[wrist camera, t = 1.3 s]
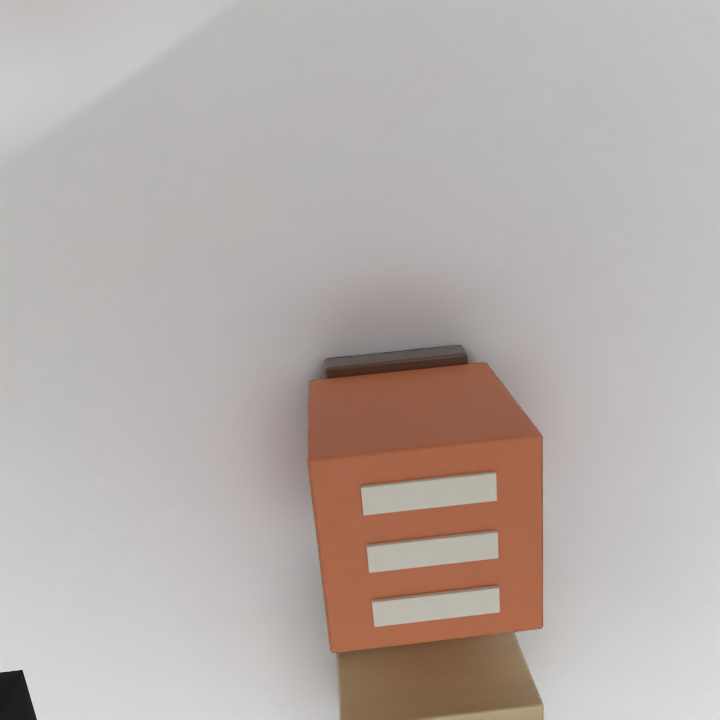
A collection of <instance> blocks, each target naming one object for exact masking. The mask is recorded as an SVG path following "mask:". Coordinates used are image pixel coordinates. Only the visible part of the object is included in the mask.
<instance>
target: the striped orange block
mask: <svg viewBox="0 0 720 720" xmlns="http://www.w3.org/2000/svg"><path fill="white" fill-rule="evenodd" d="M308 470H309V478H310V487H311V495H312V503H313V511H314V519H315V527H316V536H317V544H318V552H319V560H320V568H321V576H322V585H323V593H324V601H325V609H326V617H327V625H328V633H329V642H330V650H331V651H332V653H339V652H348V651H356V650H365V649H373V648H381V647H390V646H398V645H407V644H415V643H424V642H432V641H441V640H449V639H458V638H466V637H474V636H483V635H491V634H500V633H508V632H517V631H525V630H534V629H541V628H542V627H543V445H542V435H541V433H540V432H539V431H538V429H537V428H536V427H535V425H534V424H533V423H532V422H531V420H530V419H529V418H528V416H527V415H526V414H525V412H524V411H523V410H522V409H521V407H520V406H519V405H518V403H517V402H516V401H515V399H514V398H513V397H512V396H511V394H510V393H509V392H508V390H507V389H506V388H505V387H504V385H503V384H502V383H501V381H500V380H499V379H498V377H497V376H496V375H495V374H494V372H493V371H492V370H491V368H490V367H489V366H488V364H487V363H485V362H483V363H473V364H463V365H454V366H444V367H435V368H425V369H415V370H406V371H396V372H386V373H377V374H367V375H357V376H348V377H338V378H329V379H319V380H311V381H309V397H308Z"/></svg>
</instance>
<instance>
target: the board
mask: <svg viewBox="0 0 720 720" xmlns="http://www.w3.org/2000/svg"><path fill="white" fill-rule="evenodd" d="M463 364H468V354H467V352H466V351H465V350H464V348H463V347H462V346H461V345H457V346H447V347H437V348H428V349H418V350H408V351H398V352H389V353H379V354H369V355H360V356H350V357H340V358H330V359H326V360H325V369H326V379H329V378H338V377H348V376H357V375H367V374H377V373H386V372H396V371H406V370H415V369H425V368H435V367H444V366H454V365H463ZM337 671H338V692H339V714H340V720H543V703H542V700H541V698H540V695H539V693H538V690H537V688H536V686H535V683H534V681H533V678H532V676H531V673H530V671H529V668H528V666H527V663H526V661H525V658H524V656H523V654H522V651H521V649H520V646H519V644H518V641H517V639H516V636H515V634H514V632H508V633H500V634H491V635H483V636H474V637H466V638H458V639H449V640H441V641H432V642H424V643H415V644H407V645H398V646H390V647H381V648H373V649H365V650H356V651H348V652H339V653H337Z"/></svg>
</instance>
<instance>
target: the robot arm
mask: <svg viewBox="0 0 720 720" xmlns="http://www.w3.org/2000/svg"><path fill="white" fill-rule="evenodd" d="M0 720H37V719H36V715H35V712H34V708H33V705H32V701H31V698H30V695H29V691H28V688H27V684H26V681H25V677H24V674H23V670H18V671H10V672H1V673H0Z"/></svg>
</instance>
